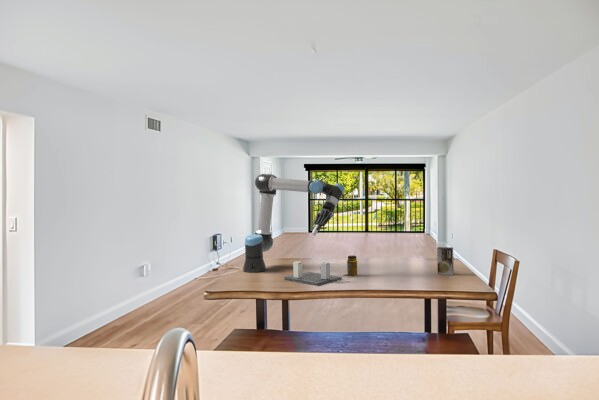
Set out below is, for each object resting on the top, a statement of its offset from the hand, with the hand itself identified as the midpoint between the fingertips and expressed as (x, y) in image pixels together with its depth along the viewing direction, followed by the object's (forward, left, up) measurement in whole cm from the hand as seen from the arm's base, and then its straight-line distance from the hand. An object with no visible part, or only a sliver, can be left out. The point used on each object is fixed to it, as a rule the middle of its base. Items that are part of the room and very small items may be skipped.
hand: (313, 234), depth 266 cm
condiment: (+18, +14, -26) cm, 34 cm away
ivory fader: (+2, -17, -24) cm, 29 cm away
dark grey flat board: (+8, -10, -26) cm, 29 cm away
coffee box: (+60, +54, -26) cm, 85 cm away
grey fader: (+17, -9, -24) cm, 31 cm away
